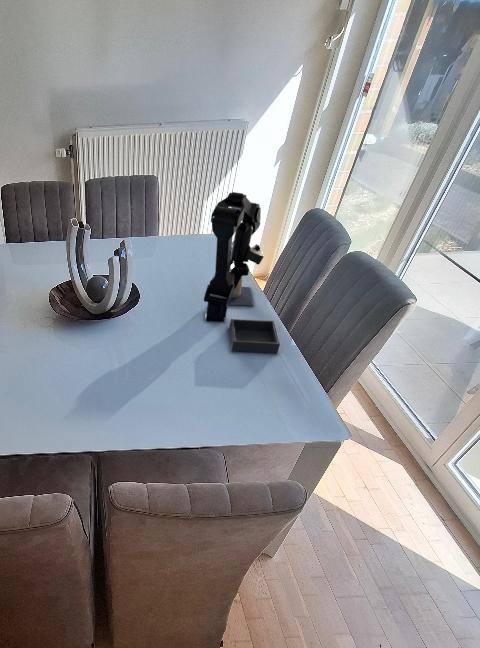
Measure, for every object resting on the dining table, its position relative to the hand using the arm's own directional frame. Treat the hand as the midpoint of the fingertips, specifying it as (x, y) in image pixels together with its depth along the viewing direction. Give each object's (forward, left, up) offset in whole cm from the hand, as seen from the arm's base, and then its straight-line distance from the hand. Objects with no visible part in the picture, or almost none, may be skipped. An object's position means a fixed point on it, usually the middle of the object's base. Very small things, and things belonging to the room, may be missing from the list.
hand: (233, 283), depth 174 cm
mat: (0, 0, -5) cm, 5 cm away
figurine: (0, +1, -5) cm, 5 cm away
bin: (+5, -32, -5) cm, 33 cm away
